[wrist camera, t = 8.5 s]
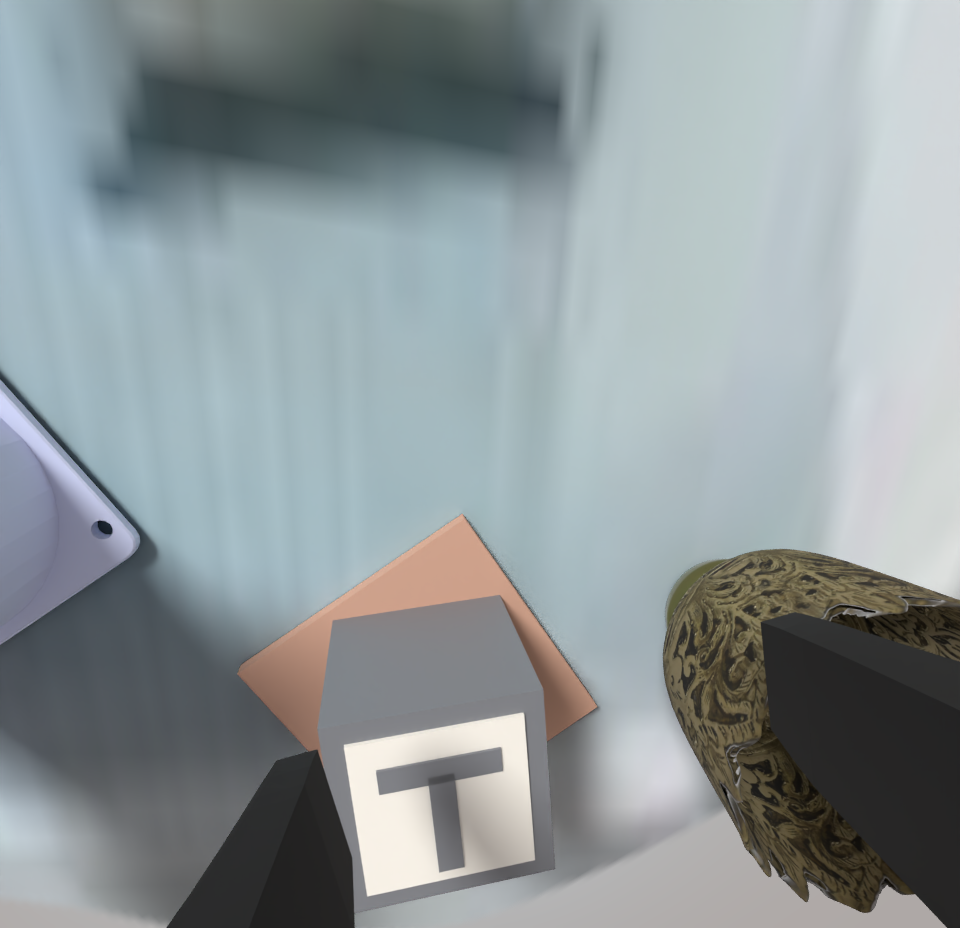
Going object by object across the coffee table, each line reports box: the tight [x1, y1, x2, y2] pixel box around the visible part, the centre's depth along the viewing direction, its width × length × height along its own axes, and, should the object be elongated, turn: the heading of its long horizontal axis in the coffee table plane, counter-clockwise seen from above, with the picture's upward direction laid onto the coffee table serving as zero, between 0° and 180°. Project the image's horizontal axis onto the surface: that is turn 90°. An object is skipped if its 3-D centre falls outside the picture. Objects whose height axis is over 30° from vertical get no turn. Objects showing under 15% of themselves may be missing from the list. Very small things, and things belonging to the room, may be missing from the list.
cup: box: [663, 549, 960, 913], centre depth 17 cm, size 8×7×8 cm
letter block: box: [317, 595, 555, 913], centre depth 16 cm, size 5×5×5 cm
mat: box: [237, 514, 597, 768], centre depth 19 cm, size 8×8×1 cm
